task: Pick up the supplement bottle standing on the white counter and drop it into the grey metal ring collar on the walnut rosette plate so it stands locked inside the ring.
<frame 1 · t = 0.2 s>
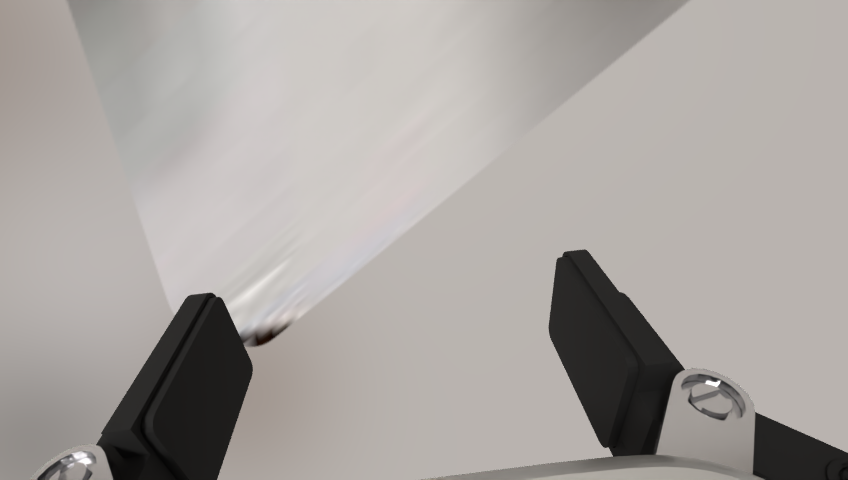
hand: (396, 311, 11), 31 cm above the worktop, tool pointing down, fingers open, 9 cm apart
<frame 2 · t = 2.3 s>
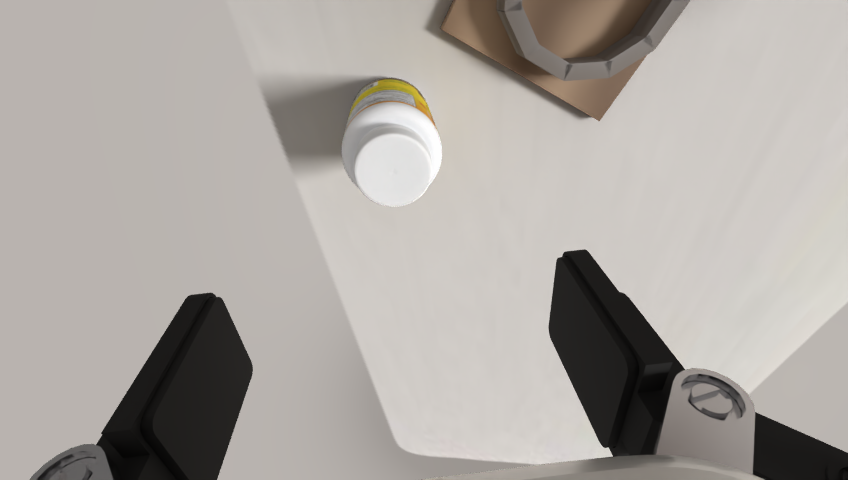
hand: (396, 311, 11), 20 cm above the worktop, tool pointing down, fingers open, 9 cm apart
supplement bottle: (390, 115, 29), on the worktop
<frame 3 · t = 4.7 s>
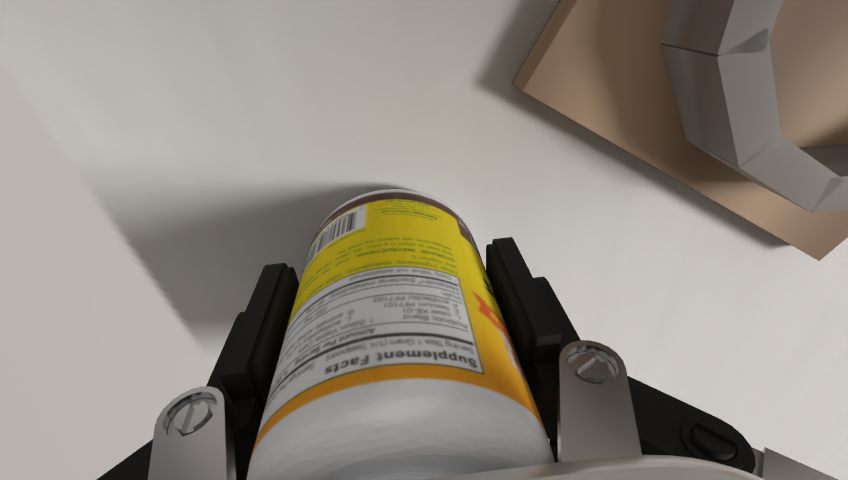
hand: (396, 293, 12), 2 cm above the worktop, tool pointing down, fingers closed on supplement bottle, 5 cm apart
supplement bottle: (394, 251, 14), on the worktop, touching gripper
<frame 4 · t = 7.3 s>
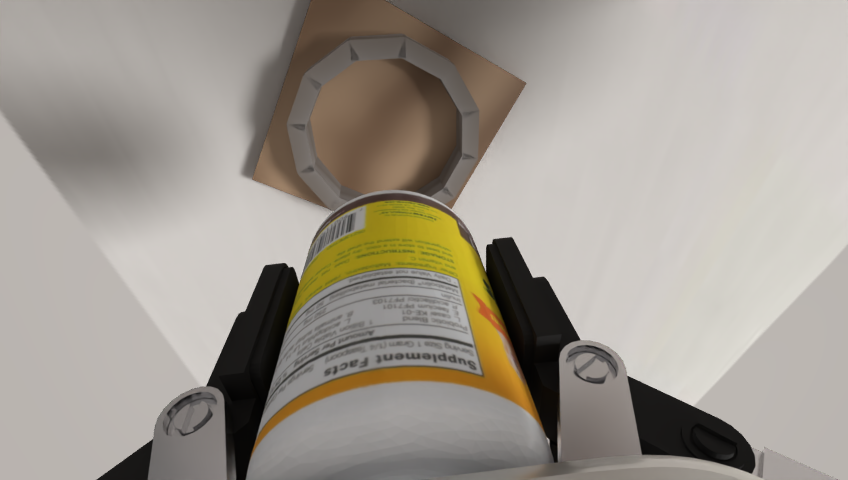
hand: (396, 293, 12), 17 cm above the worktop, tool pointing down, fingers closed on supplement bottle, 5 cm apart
supplement bottle: (394, 252, 14), point 15 cm above the worktop, touching gripper
rosette collar: (385, 127, 26), on the worktop
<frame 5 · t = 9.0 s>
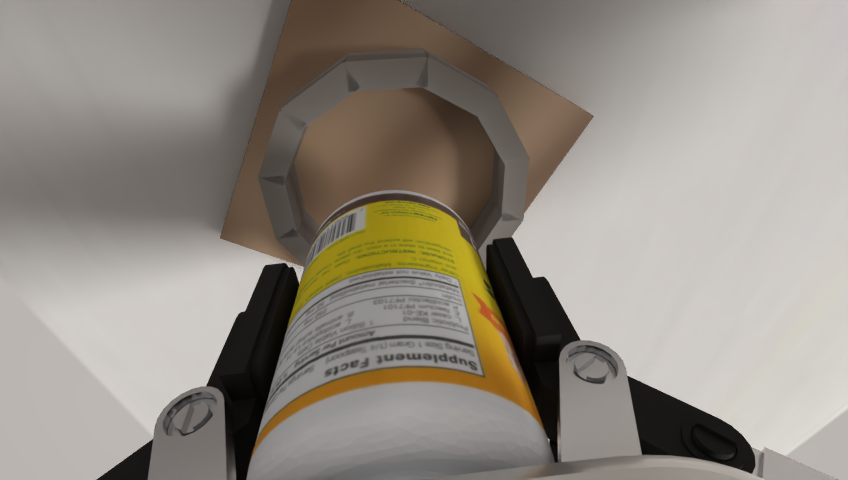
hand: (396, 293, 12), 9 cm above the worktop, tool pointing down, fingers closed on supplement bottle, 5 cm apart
supplement bottle: (394, 252, 14), point 7 cm above the worktop, touching gripper
rosette collar: (396, 171, 20), on the worktop
when the fingers open (4 cm above the worktop, at t = 10.3 s): supplement bottle drops 1 cm, resting on rosette collar.
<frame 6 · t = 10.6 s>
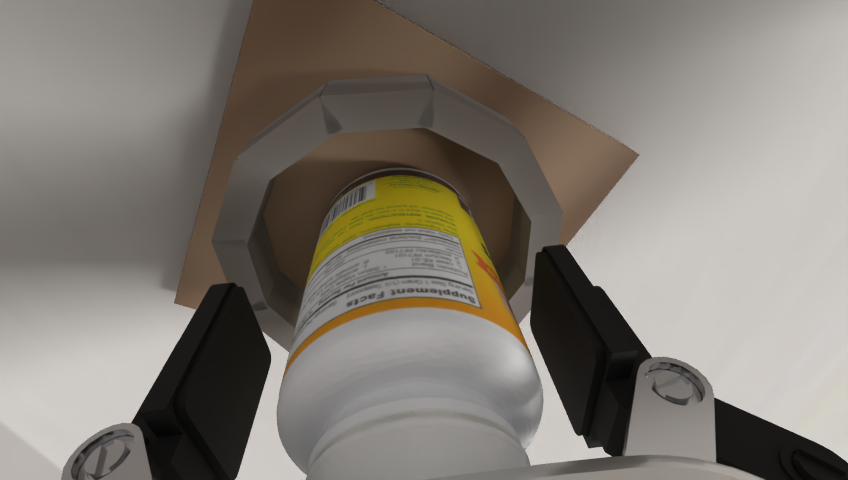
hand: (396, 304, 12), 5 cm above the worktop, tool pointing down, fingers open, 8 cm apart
supplement bottle: (399, 228, 15), point 1 cm above the worktop, touching rosette collar
rosette collar: (392, 220, 16), on the worktop
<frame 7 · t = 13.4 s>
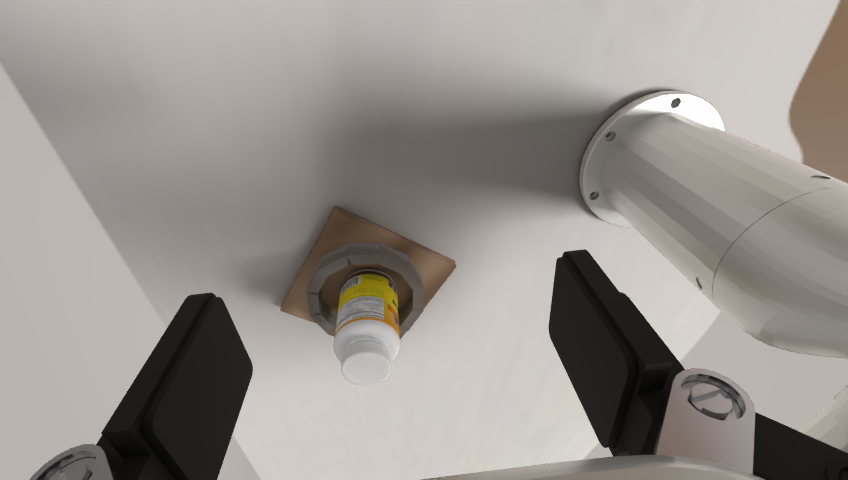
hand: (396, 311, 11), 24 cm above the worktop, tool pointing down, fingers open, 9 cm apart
supplement bottle: (369, 286, 41), point 1 cm above the worktop, touching rosette collar
rosette collar: (367, 282, 41), on the worktop
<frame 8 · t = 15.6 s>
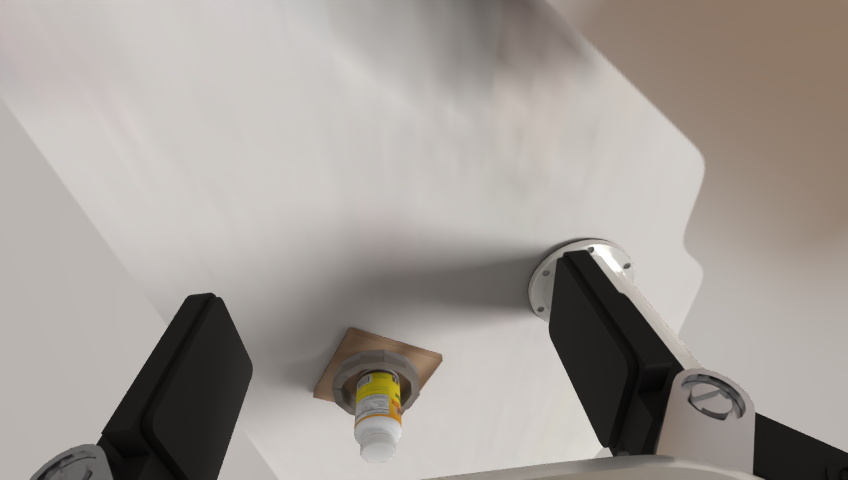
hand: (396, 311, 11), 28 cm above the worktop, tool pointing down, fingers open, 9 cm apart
supplement bottle: (378, 377, 54), point 1 cm above the worktop, touching rosette collar
rosette collar: (377, 373, 55), on the worktop
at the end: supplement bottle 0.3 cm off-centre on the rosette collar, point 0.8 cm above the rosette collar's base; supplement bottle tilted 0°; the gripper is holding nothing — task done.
